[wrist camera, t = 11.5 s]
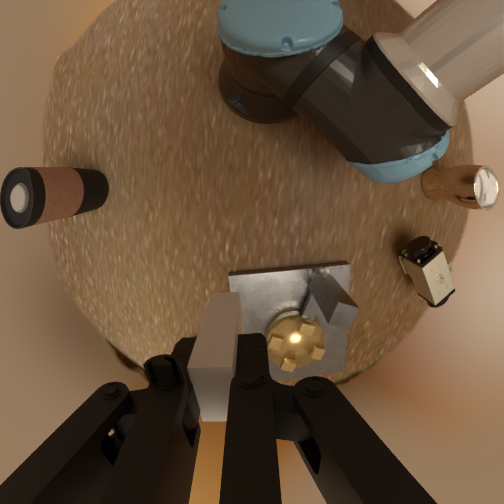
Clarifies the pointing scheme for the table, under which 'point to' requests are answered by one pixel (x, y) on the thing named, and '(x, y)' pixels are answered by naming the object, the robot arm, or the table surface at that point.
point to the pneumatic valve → (428, 270)
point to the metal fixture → (309, 324)
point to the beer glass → (462, 186)
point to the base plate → (290, 309)
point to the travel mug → (50, 194)
